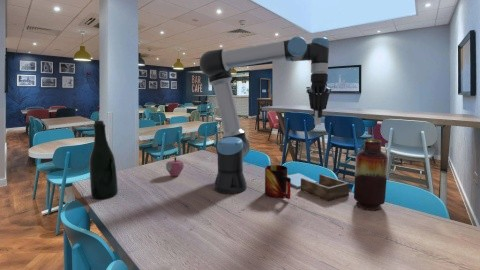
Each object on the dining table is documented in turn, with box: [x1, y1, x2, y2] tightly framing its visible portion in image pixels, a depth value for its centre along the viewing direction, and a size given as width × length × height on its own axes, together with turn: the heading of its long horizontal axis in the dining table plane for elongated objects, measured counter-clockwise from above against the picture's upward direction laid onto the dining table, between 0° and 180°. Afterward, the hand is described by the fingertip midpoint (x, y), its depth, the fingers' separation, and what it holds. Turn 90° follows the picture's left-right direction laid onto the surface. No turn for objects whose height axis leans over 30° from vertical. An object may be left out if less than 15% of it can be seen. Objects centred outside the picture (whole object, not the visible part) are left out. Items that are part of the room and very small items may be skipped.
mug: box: [264, 164, 292, 200], centre depth 116 cm, size 10×14×12 cm
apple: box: [165, 156, 185, 177], centre depth 145 cm, size 10×9×10 cm
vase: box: [353, 138, 389, 212], centre depth 103 cm, size 11×11×26 cm
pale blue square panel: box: [287, 173, 318, 189], centre depth 134 cm, size 13×13×1 cm
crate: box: [300, 173, 350, 202], centre depth 119 cm, size 16×13×6 cm
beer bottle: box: [88, 120, 119, 200], centre depth 116 cm, size 10×10×33 cm
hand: (317, 124), depth 127 cm, fingers closed
